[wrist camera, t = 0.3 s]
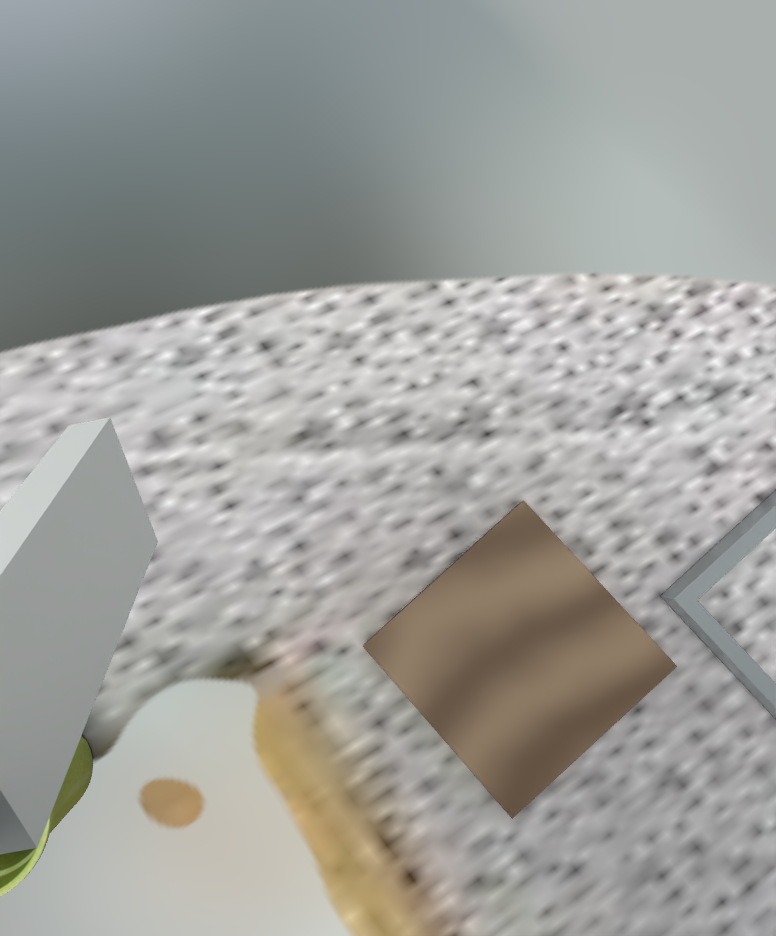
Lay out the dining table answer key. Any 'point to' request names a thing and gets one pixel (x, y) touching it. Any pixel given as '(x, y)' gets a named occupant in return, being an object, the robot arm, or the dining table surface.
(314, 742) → the dining table surface
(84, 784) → the plant pot
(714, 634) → the gray square frame
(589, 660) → the pad
